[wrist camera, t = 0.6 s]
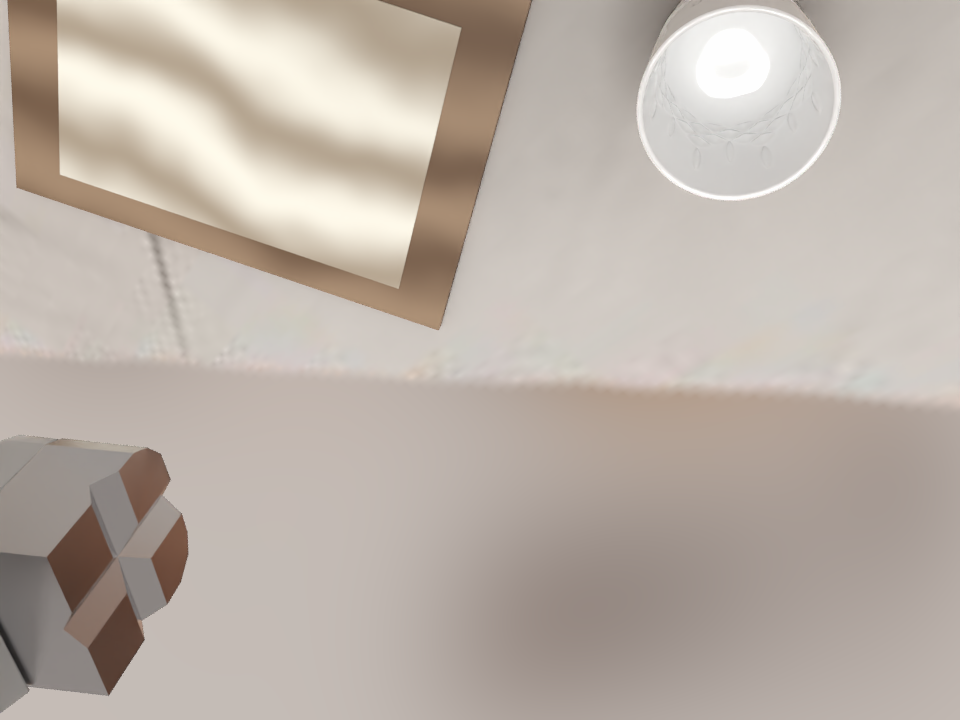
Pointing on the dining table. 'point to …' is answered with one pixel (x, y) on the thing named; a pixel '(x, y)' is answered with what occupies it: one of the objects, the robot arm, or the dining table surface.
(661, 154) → the white cup
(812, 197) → the dining table surface
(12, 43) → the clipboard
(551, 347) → the dining table surface
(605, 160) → the dining table surface
